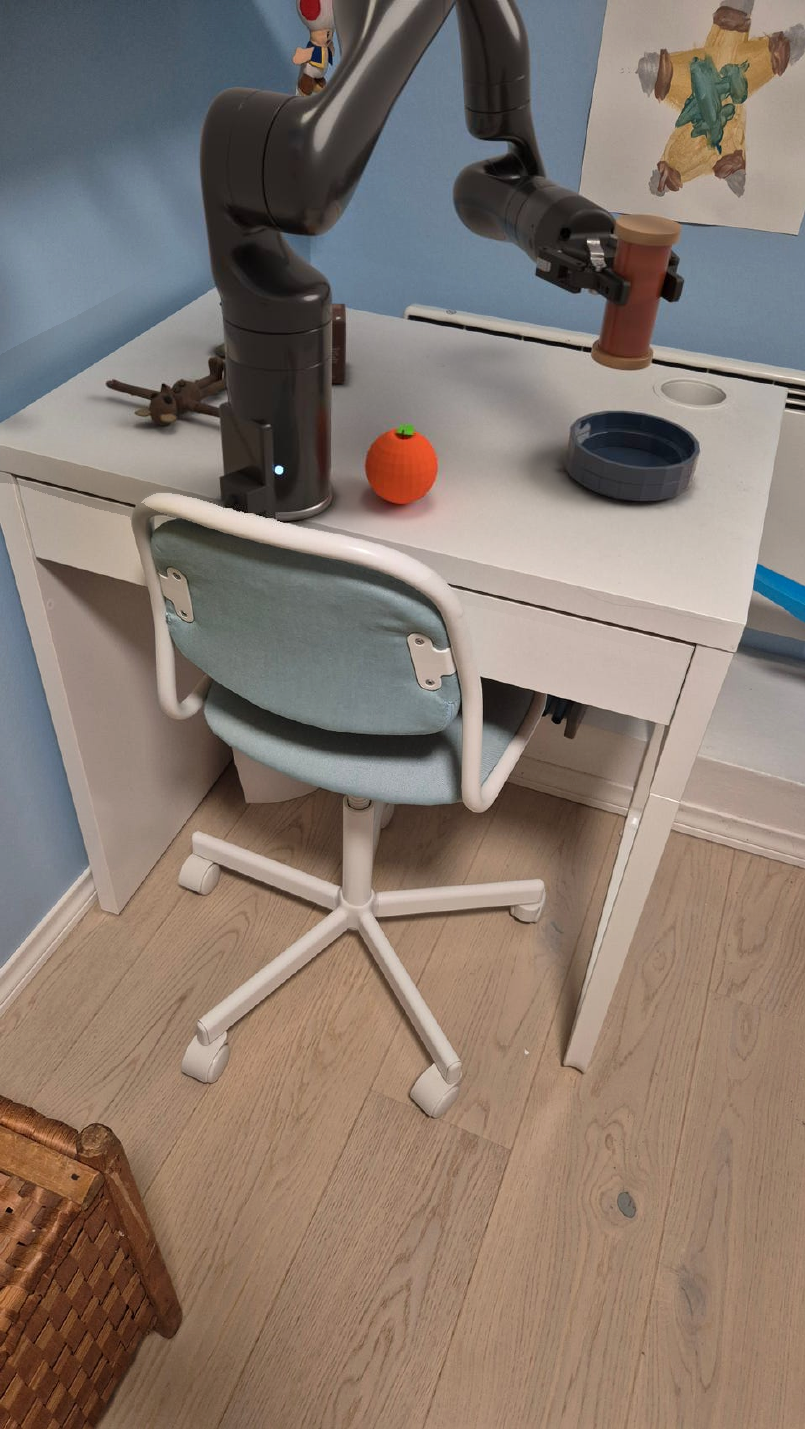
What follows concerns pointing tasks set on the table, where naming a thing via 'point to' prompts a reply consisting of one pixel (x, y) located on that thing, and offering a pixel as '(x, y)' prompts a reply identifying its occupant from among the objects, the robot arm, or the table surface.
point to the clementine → (401, 465)
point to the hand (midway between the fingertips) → (651, 292)
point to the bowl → (631, 455)
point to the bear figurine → (179, 395)
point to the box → (338, 343)
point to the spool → (636, 290)
